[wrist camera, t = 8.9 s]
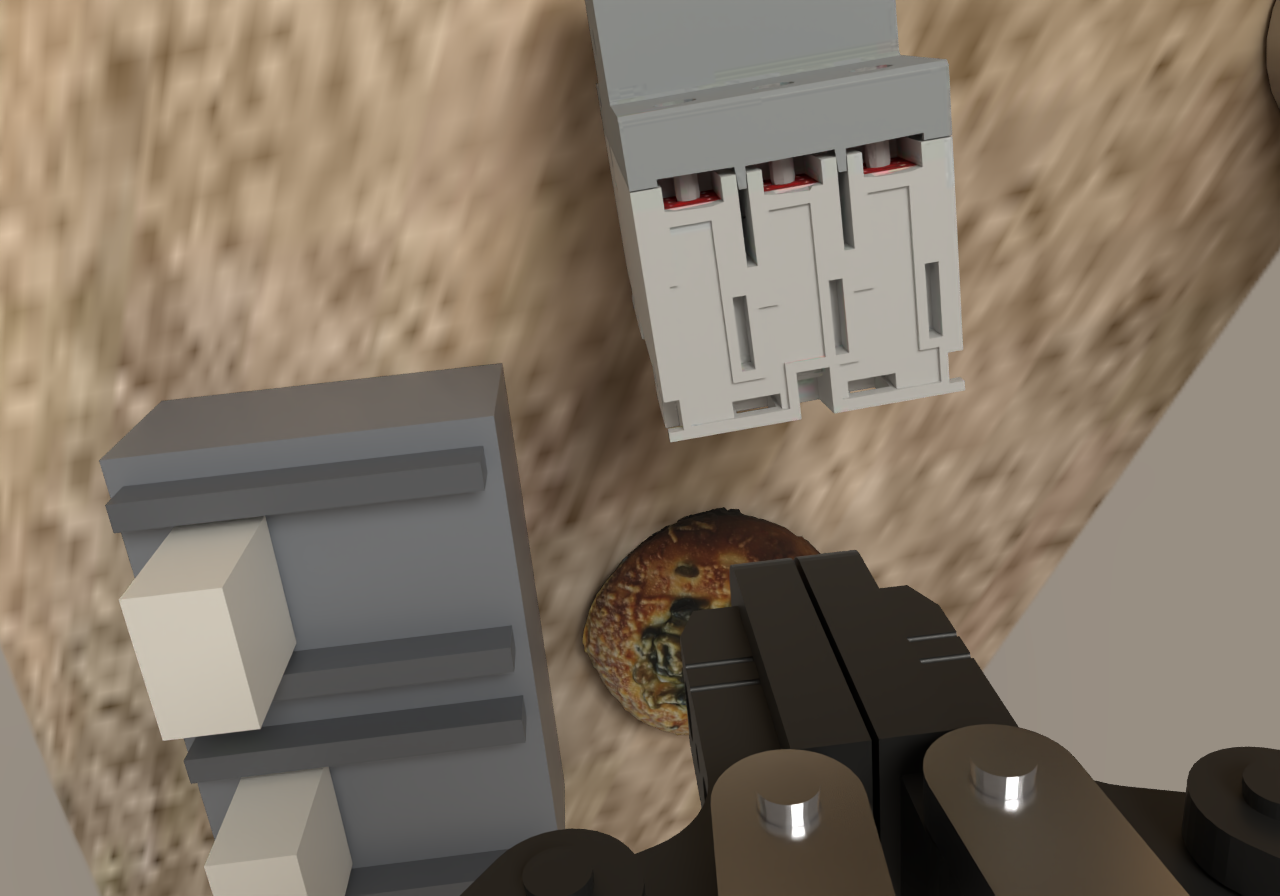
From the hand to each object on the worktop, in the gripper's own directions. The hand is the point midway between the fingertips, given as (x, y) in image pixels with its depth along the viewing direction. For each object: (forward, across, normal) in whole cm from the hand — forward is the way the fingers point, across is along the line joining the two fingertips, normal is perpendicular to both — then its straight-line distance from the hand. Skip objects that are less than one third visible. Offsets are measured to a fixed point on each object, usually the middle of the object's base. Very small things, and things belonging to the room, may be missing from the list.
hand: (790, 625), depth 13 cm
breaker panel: (+29, +12, +15) cm, 35 cm away
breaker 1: (+23, +15, +10) cm, 29 cm away
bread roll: (+29, -2, +18) cm, 34 cm away
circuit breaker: (+29, -3, -4) cm, 30 cm away
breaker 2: (+23, +15, +20) cm, 34 cm away
